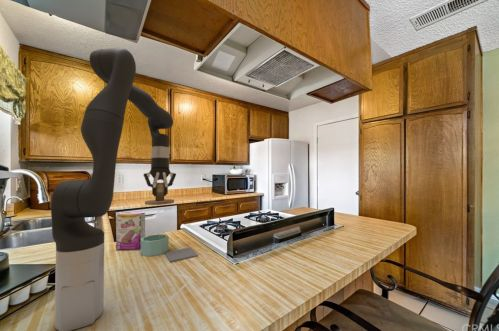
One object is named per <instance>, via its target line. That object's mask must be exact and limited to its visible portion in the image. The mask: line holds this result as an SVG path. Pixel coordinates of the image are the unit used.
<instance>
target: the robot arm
mask: <svg viewBox="0 0 499 331" xmlns="http://www.w3.org/2000/svg"><path fill="white" fill-rule="evenodd" d="M89 64H90V67H91V69H92V71H93V72H94V74H96V76H97V77H98V78H99V79H101V81H103V82H104V83H105V84H106V85H105V86H104V87H103V88H102V89H101V90H100V91H99V92H98V93H97V94H96V95H95V96H94V97H93V99H92V100H90V102H89V103H88V104H87V105H86V108H85V111H84V115H83V117H82V121H81V126H80V134H81V137H82V139H83V141H84V143H85V145H86V146H87V148H88V151H89V152H90V154H91V157H92V160H93V161H92V163H93V164H92V165H93V166H92V174H91V178H90V179H69V180H64V181H61V182H60V183H57V185H56V186H55V187H54V190H53V191H52V195H51V199H50V216H51V236H52V239H53V241H54V243H55V279H54V280H55V283H54V284H55V287H54V289H55V290H54V329H55V330H57V331H73V330H76V329H80V328H83V327H86V326H90V325H93V324H95V321H96V320H97V319H98V318H100V317H101V315H102V314H103V313H104V306H105V305H104V303H105V302H104V300H105V296H104V295H105V290H104V289H105V288H104V286H105V284H104V282H105V232H104V230H102V229H101V228H99V227H95V226H93V225H91V224H89V223H88V222H87V221H86V219H85V218H99V217H104V216H105V215H106V214H107V213H108V211H109V210H110V208H111V206H112V202H113V198H114V190H115V179H116V178H115V177H116V166H117V165H116V164H117V158H118V152H119V146H120V142H121V137H122V133H123V129H124V122H125V114H126V110H127V105H128V101H129V102H131V103H132V104H133V105H134V106H135V107H136V108H137V109H138V110H139V112H141V114H142V115H143V116H144V117H146V118H147V126H148V128H149V132H150V136H151V151H150V170H149V171H148V172H146V173H145V172H144V173H143V177H144V179H145V182H146V185H147V186H148V187H149V188H150V187H151V191H152V192H151V195H152V196H153V197H156V184H157V183H158V181H162V183H164V197H167V195H168V193H169V190H168V189H169V187H171V186H172V185H174V181H175V179H176V176H177V173H176V172H172V171H171V170H170V148H169V147H170V146H169V141H170V140H169V135H168V134H165V133H161V132H160V130H168V129H171V128H172V127H173V125H174V120H173V116H172V115H171V113H169V112H168V111H167V110H165V109H164V108H163V107H162V106H160V105H158V104H157V102H156V100H155V99H154V98H153V97H152V96H151V95H150V94H149V93H148V92H146V91H145V90H143V89H142V88H139V87H138V86H136V85H134V80H135V77H136V74H137V66H136V61H135V58H134V55H133V53H131V52H130V50H128V49H126V48H123V47H111V48H101V49H96V50H93V51H92V52H91V53H90V54H89ZM169 176H170V179H169V181H168V179H167V178H168V177H169ZM150 177H152V178H153V180H152V183H151V180H150Z"/></svg>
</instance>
